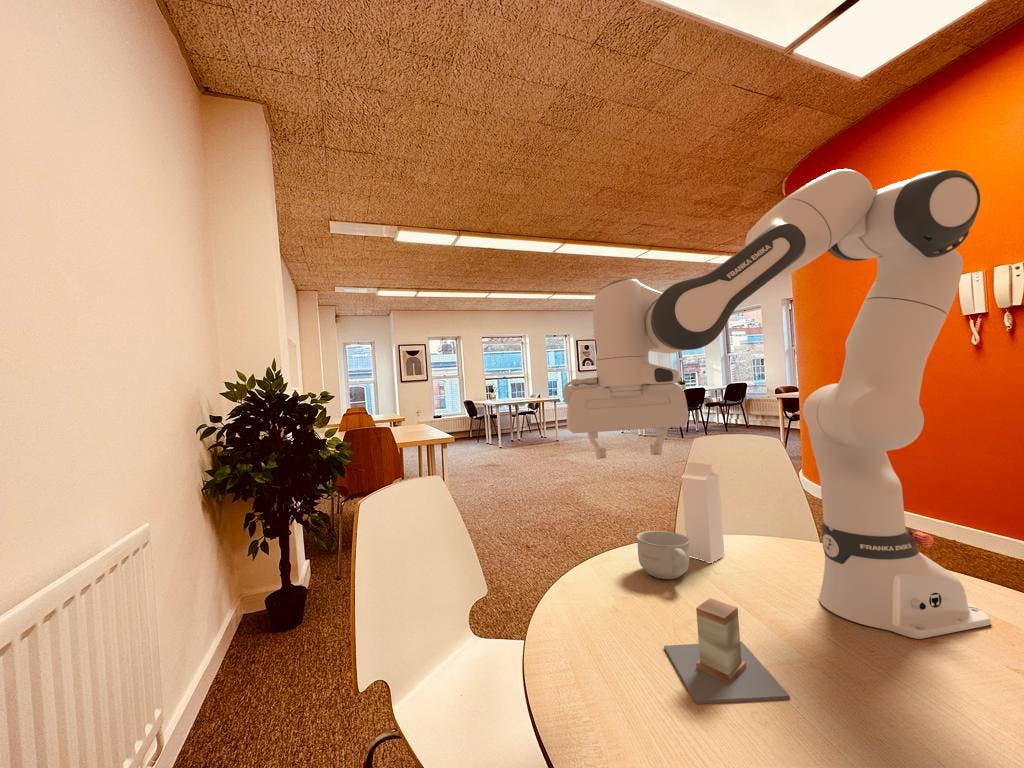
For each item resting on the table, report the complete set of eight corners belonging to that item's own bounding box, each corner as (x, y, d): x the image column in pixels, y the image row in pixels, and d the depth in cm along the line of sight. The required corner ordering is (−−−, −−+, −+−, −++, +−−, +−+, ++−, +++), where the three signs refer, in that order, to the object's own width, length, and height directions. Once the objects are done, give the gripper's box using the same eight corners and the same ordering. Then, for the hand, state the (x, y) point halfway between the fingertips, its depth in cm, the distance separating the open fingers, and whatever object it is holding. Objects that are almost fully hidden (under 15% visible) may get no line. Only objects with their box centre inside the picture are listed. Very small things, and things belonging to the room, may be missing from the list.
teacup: (634, 564, 99) (631, 529, 99) (681, 562, 99) (679, 527, 99) (651, 593, 85) (648, 552, 86) (706, 590, 85) (703, 549, 85)
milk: (711, 564, 97) (704, 466, 97) (686, 557, 102) (679, 463, 102) (725, 556, 100) (718, 462, 101) (700, 550, 105) (693, 459, 105)
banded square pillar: (712, 653, 65) (708, 596, 65) (746, 668, 61) (741, 607, 61) (696, 668, 62) (692, 608, 62) (730, 684, 58) (726, 620, 58)
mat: (741, 644, 67) (741, 641, 67) (790, 698, 55) (789, 695, 55) (664, 648, 67) (664, 645, 67) (695, 703, 55) (695, 700, 55)
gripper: (564, 379, 71) (570, 463, 71) (688, 370, 71) (695, 455, 71) (560, 380, 77) (565, 457, 77) (675, 372, 77) (680, 450, 77)
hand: (628, 456), depth 74 cm, fingers open, 8 cm apart
